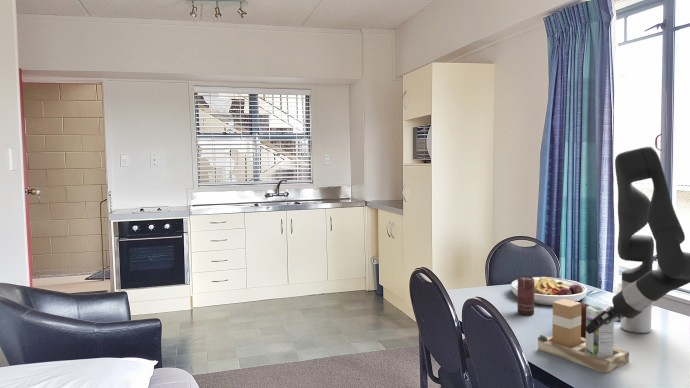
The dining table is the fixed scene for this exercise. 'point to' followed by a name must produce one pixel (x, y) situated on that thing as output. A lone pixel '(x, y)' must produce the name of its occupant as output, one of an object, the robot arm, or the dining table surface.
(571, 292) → the bowl
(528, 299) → the can
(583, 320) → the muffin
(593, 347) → the syrup box
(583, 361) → the pallet
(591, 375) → the dining table surface
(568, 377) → the dining table surface
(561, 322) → the tan cardboard box
